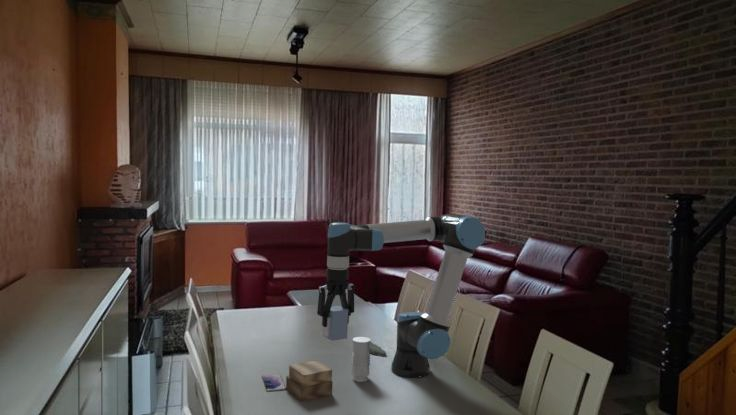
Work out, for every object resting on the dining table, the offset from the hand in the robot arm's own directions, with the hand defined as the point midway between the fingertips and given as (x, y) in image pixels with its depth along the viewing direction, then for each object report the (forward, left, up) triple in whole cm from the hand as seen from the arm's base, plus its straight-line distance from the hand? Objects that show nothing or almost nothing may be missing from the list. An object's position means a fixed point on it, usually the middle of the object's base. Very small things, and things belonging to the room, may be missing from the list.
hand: (335, 334), depth 182 cm
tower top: (+6, -6, -17) cm, 19 cm away
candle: (-16, -8, -21) cm, 28 cm away
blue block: (0, 0, -1) cm, 1 cm away
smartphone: (+14, -19, -22) cm, 33 cm away
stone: (-37, -34, -22) cm, 55 cm away
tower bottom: (+6, -6, -22) cm, 23 cm away
